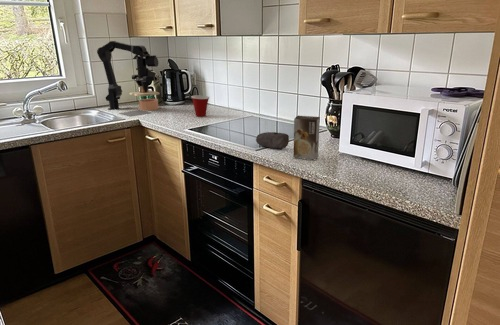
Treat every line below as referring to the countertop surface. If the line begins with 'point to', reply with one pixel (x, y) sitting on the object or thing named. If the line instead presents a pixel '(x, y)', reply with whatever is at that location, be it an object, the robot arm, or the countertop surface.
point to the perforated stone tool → (273, 140)
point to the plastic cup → (200, 105)
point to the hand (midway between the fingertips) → (144, 91)
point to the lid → (143, 93)
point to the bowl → (148, 104)
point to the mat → (134, 113)
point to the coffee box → (306, 137)
